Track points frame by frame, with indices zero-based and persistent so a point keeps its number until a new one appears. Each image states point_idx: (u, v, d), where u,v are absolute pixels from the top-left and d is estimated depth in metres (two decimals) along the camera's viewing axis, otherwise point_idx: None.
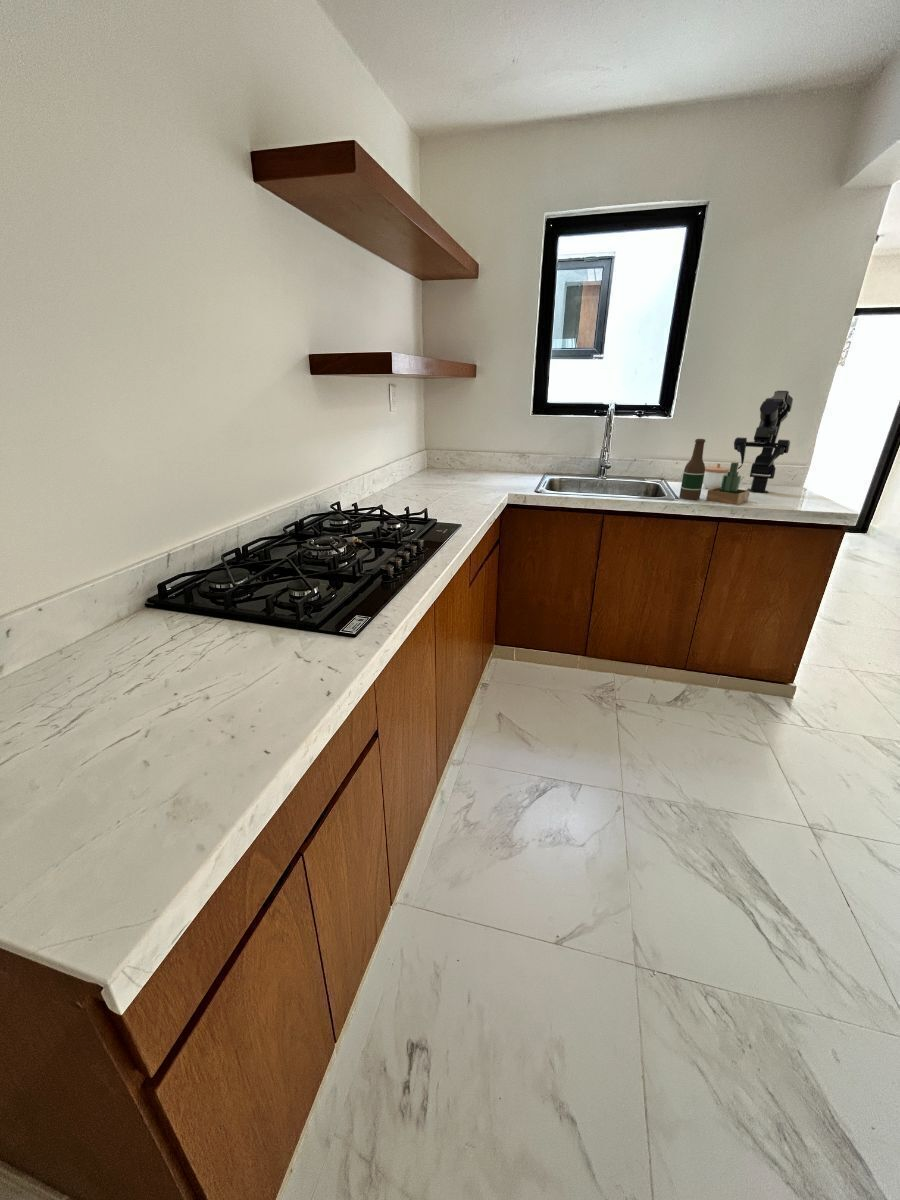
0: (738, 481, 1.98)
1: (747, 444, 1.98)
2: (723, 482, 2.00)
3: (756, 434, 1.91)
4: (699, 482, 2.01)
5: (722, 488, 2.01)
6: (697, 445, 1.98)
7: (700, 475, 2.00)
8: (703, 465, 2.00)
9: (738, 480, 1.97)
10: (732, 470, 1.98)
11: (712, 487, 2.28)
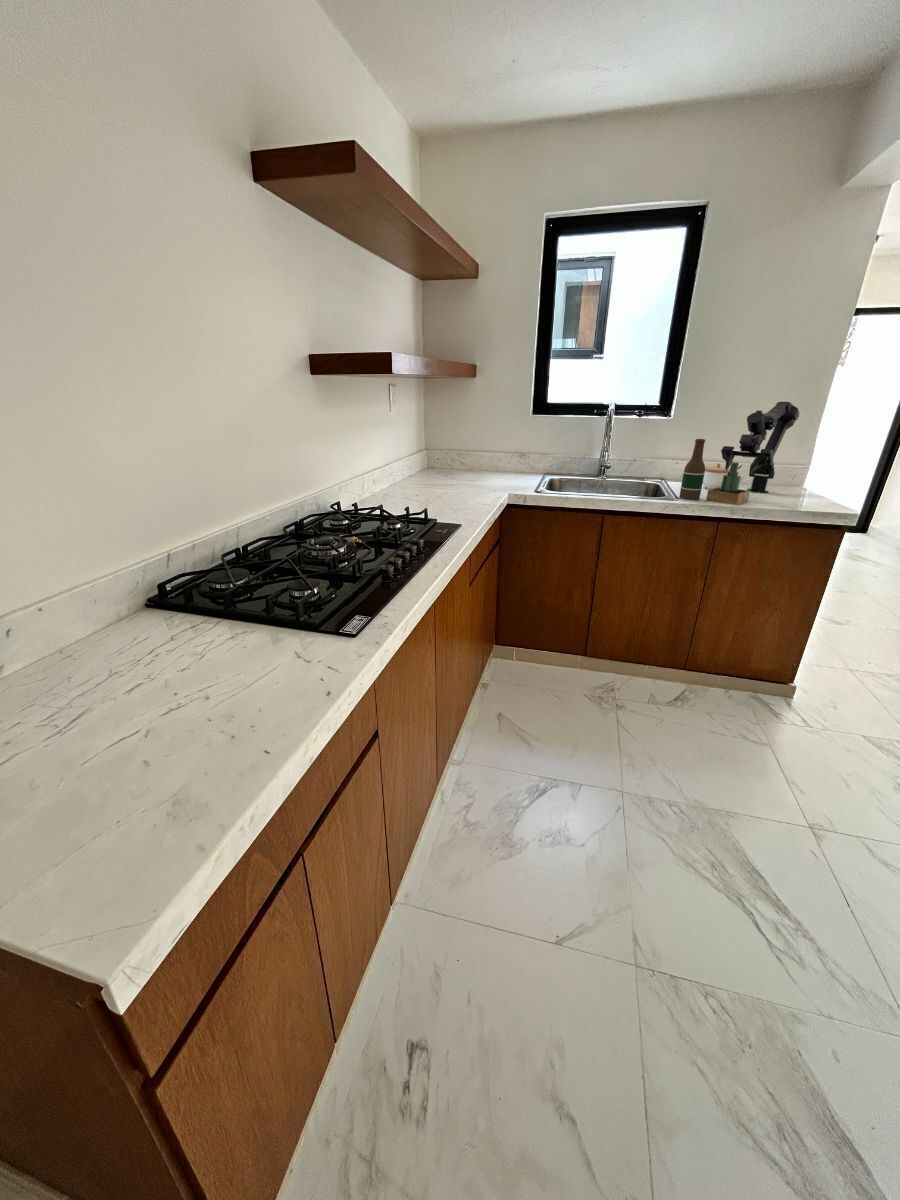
0: (738, 481, 1.98)
1: (734, 453, 2.06)
2: (723, 482, 2.00)
3: (740, 440, 1.99)
4: (699, 482, 2.01)
5: (722, 488, 2.01)
6: (697, 445, 1.98)
7: (700, 475, 2.00)
8: (703, 465, 2.00)
9: (738, 480, 1.97)
10: (732, 470, 1.98)
11: (712, 487, 2.28)
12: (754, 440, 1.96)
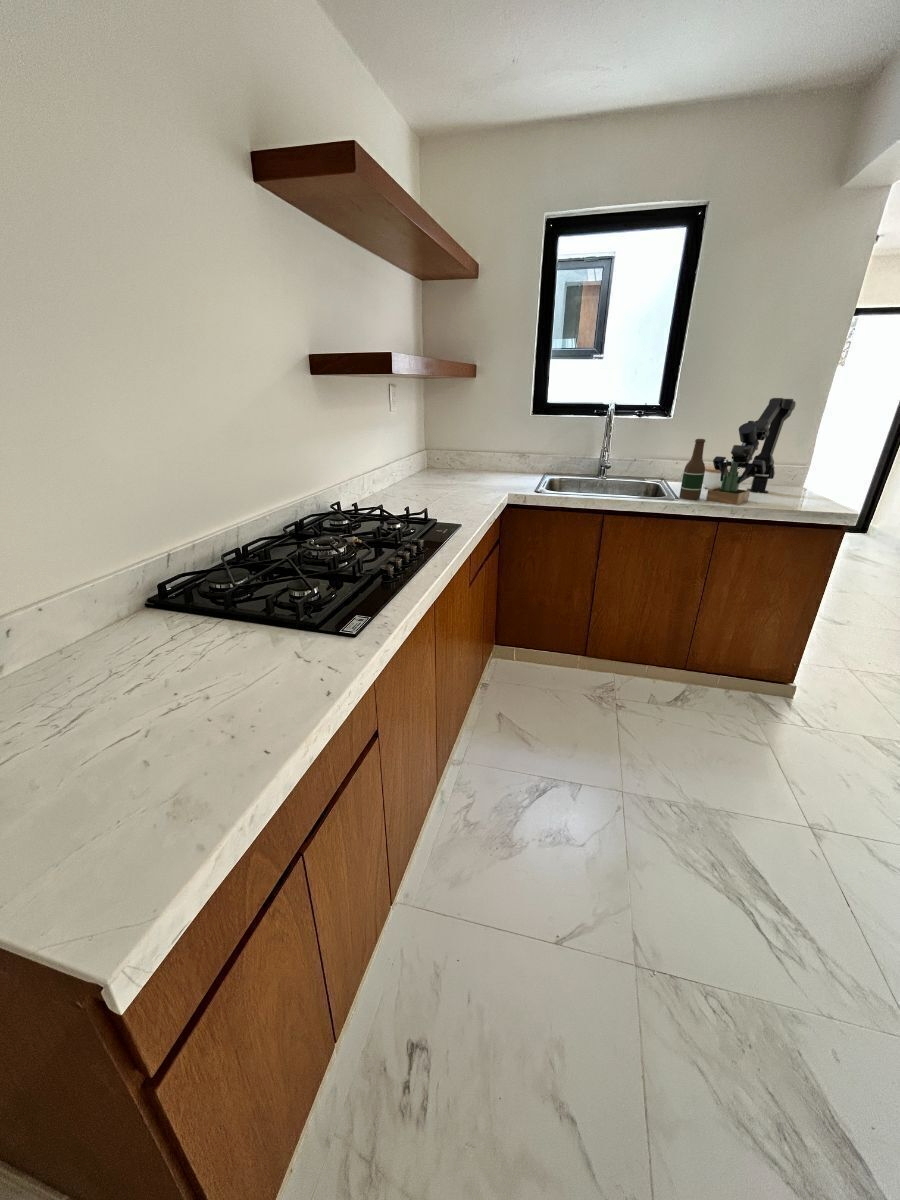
0: None
1: None
2: (723, 482, 2.00)
3: (732, 451, 1.97)
4: (699, 482, 2.01)
5: (722, 488, 2.01)
6: (697, 445, 1.98)
7: (700, 475, 2.00)
8: (703, 465, 2.00)
9: (738, 480, 1.97)
10: (732, 470, 1.98)
11: (712, 487, 2.28)
12: (746, 451, 1.94)
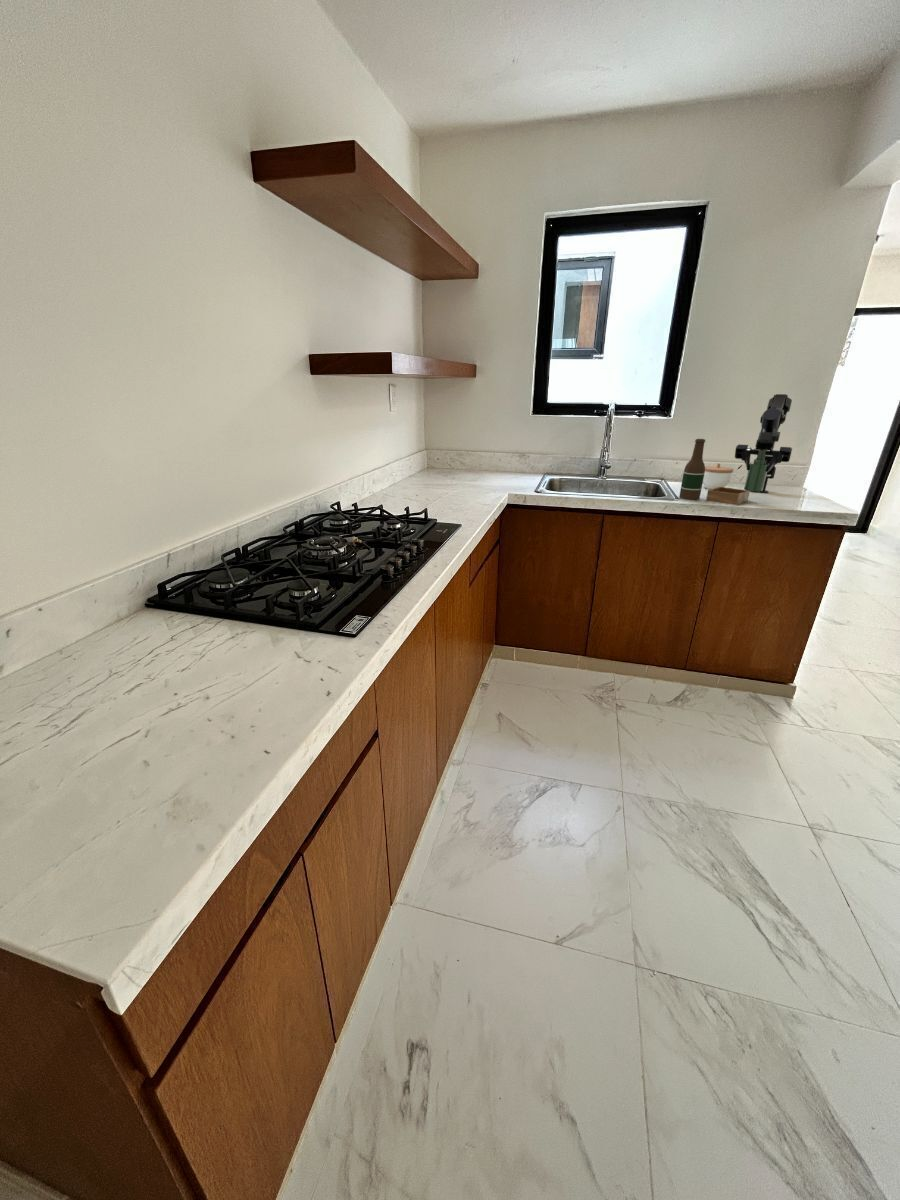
0: None
1: None
2: (751, 471, 1.92)
3: (759, 438, 1.89)
4: (699, 482, 2.01)
5: (750, 477, 1.93)
6: (697, 445, 1.98)
7: (700, 475, 2.00)
8: (703, 465, 2.00)
9: (767, 468, 1.91)
10: (760, 458, 1.91)
11: (712, 487, 2.28)
12: (774, 438, 1.88)
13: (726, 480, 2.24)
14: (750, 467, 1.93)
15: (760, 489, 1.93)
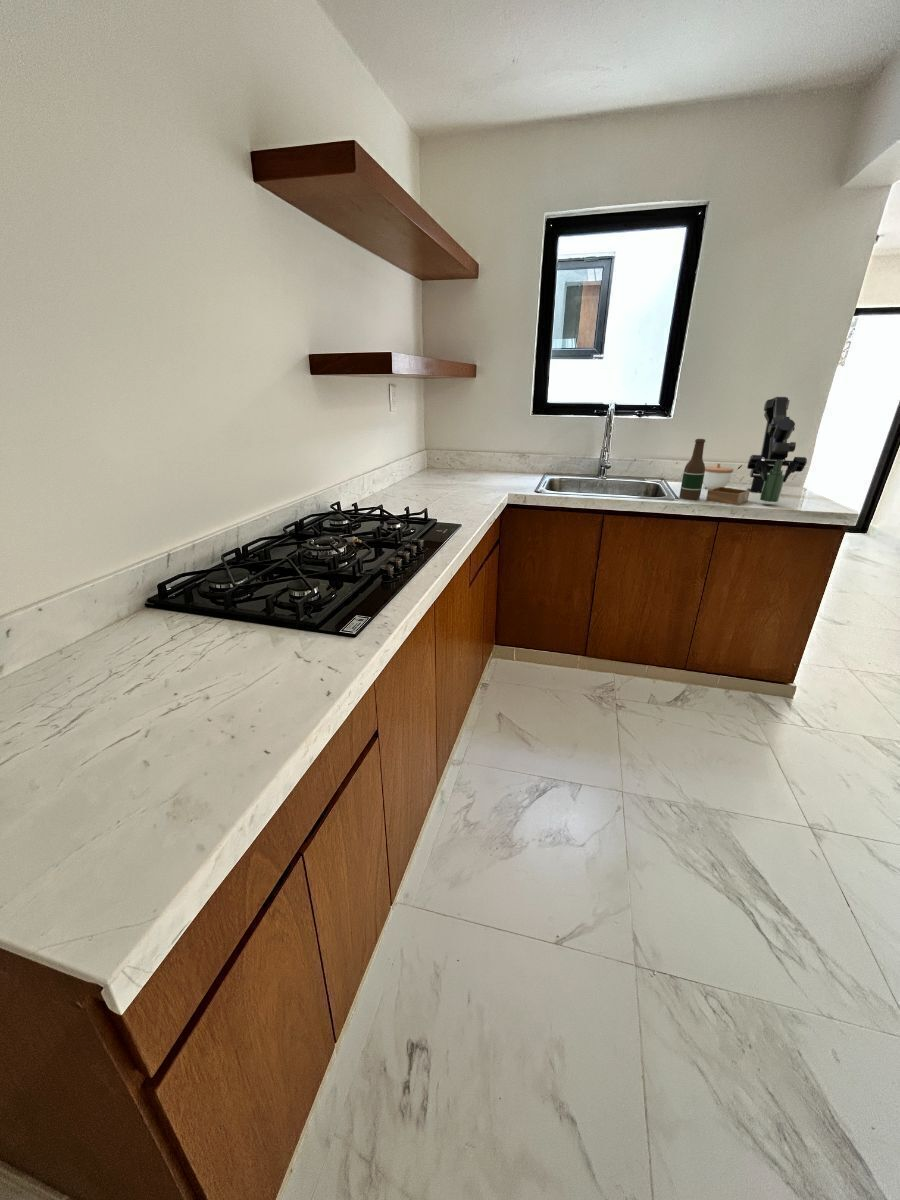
0: (783, 480, 1.90)
1: None
2: (769, 482, 1.91)
3: (776, 449, 1.88)
4: (699, 482, 2.01)
5: (768, 488, 1.92)
6: (697, 445, 1.98)
7: (700, 475, 2.00)
8: (703, 465, 2.00)
9: None
10: (777, 469, 1.89)
11: (712, 487, 2.28)
12: (791, 448, 1.87)
13: (726, 480, 2.24)
14: (767, 478, 1.91)
15: (777, 499, 1.92)
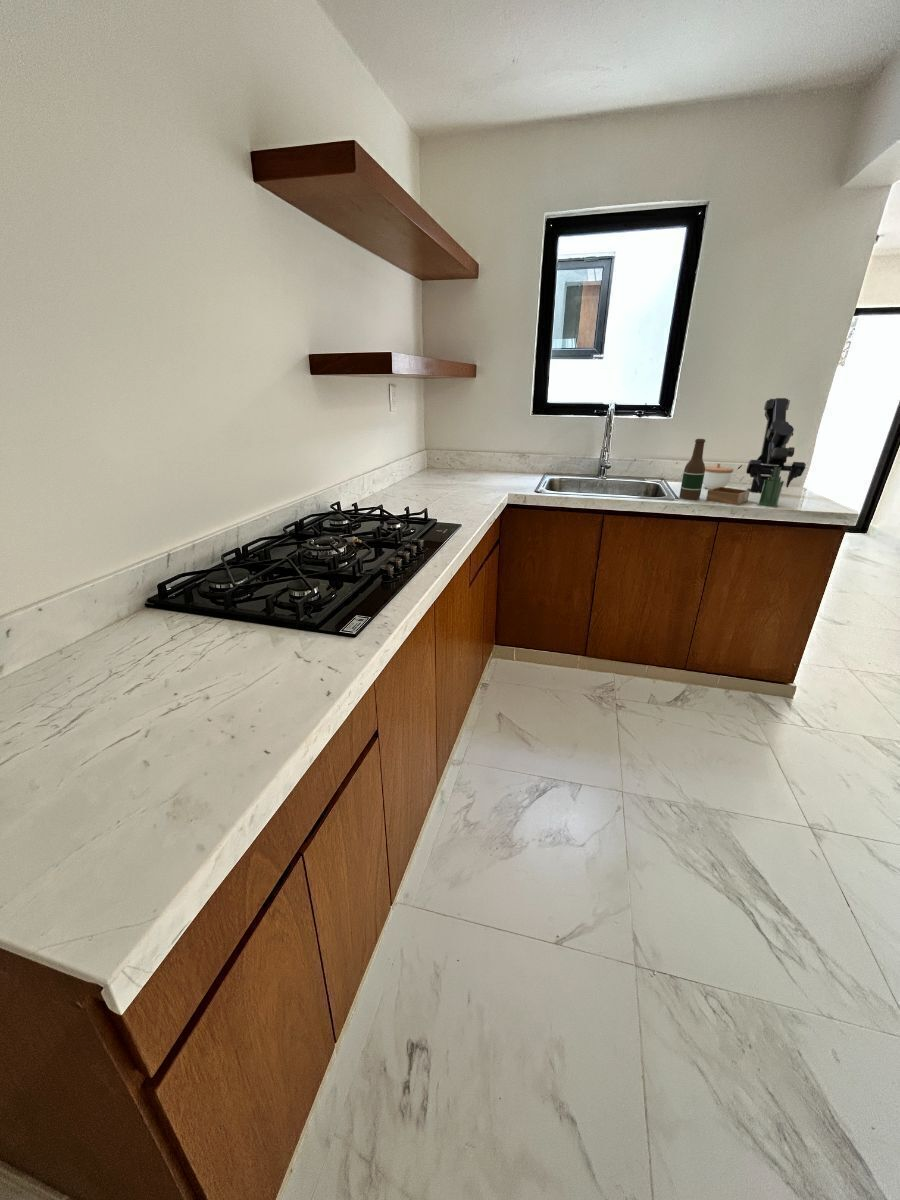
0: (782, 486, 1.91)
1: (761, 467, 1.96)
2: (768, 488, 1.92)
3: (775, 454, 1.88)
4: (699, 482, 2.01)
5: (766, 494, 1.92)
6: (697, 445, 1.98)
7: (700, 475, 2.00)
8: (703, 465, 2.00)
9: (782, 485, 1.91)
10: (776, 475, 1.90)
11: (712, 487, 2.28)
12: (789, 453, 1.87)
13: (726, 480, 2.24)
14: (766, 484, 1.92)
15: (776, 505, 1.93)
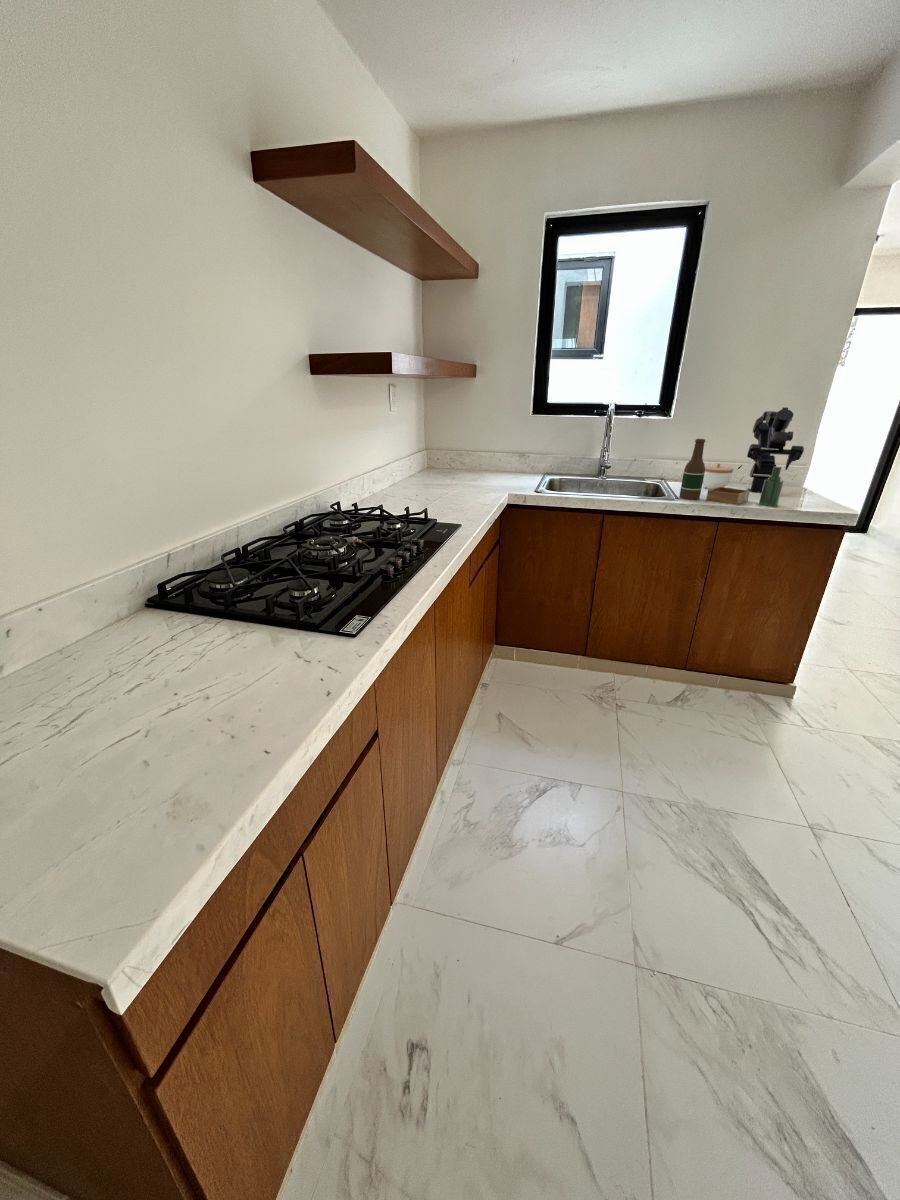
0: (782, 486, 1.91)
1: (761, 451, 2.04)
2: (768, 488, 1.92)
3: (775, 438, 1.97)
4: (699, 482, 2.01)
5: (766, 494, 1.92)
6: (697, 445, 1.98)
7: (700, 475, 2.00)
8: (703, 465, 2.00)
9: (782, 485, 1.91)
10: (776, 475, 1.90)
11: (712, 487, 2.28)
12: (788, 437, 1.96)
13: (726, 480, 2.24)
14: (766, 484, 1.92)
15: (776, 505, 1.93)
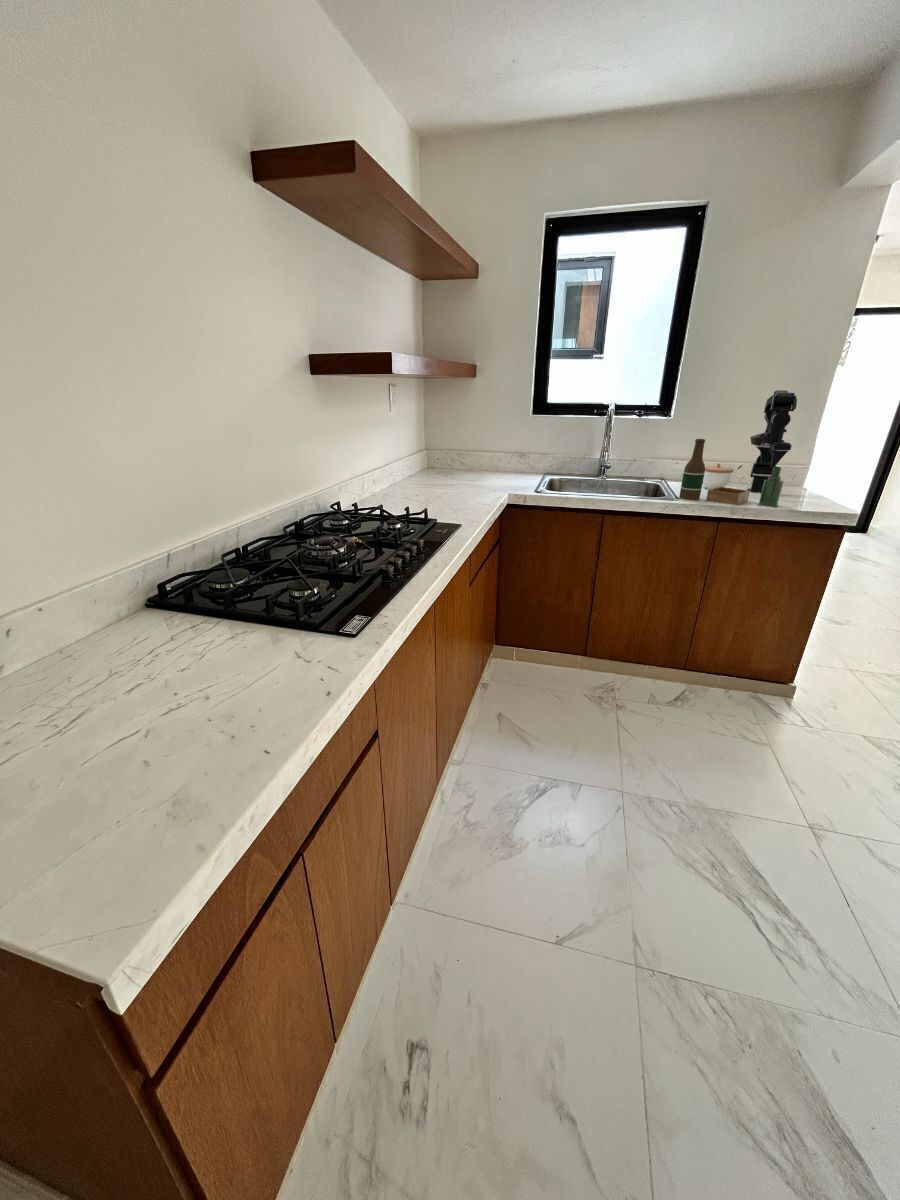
0: (782, 486, 1.91)
1: (766, 444, 2.07)
2: (768, 488, 1.92)
3: (751, 443, 2.05)
4: (699, 482, 2.01)
5: (766, 494, 1.92)
6: (697, 445, 1.98)
7: (700, 475, 2.00)
8: (703, 465, 2.00)
9: (782, 485, 1.91)
10: (776, 475, 1.90)
11: (712, 487, 2.28)
12: (758, 441, 2.01)
13: (726, 480, 2.24)
14: (766, 484, 1.92)
15: (776, 505, 1.93)
